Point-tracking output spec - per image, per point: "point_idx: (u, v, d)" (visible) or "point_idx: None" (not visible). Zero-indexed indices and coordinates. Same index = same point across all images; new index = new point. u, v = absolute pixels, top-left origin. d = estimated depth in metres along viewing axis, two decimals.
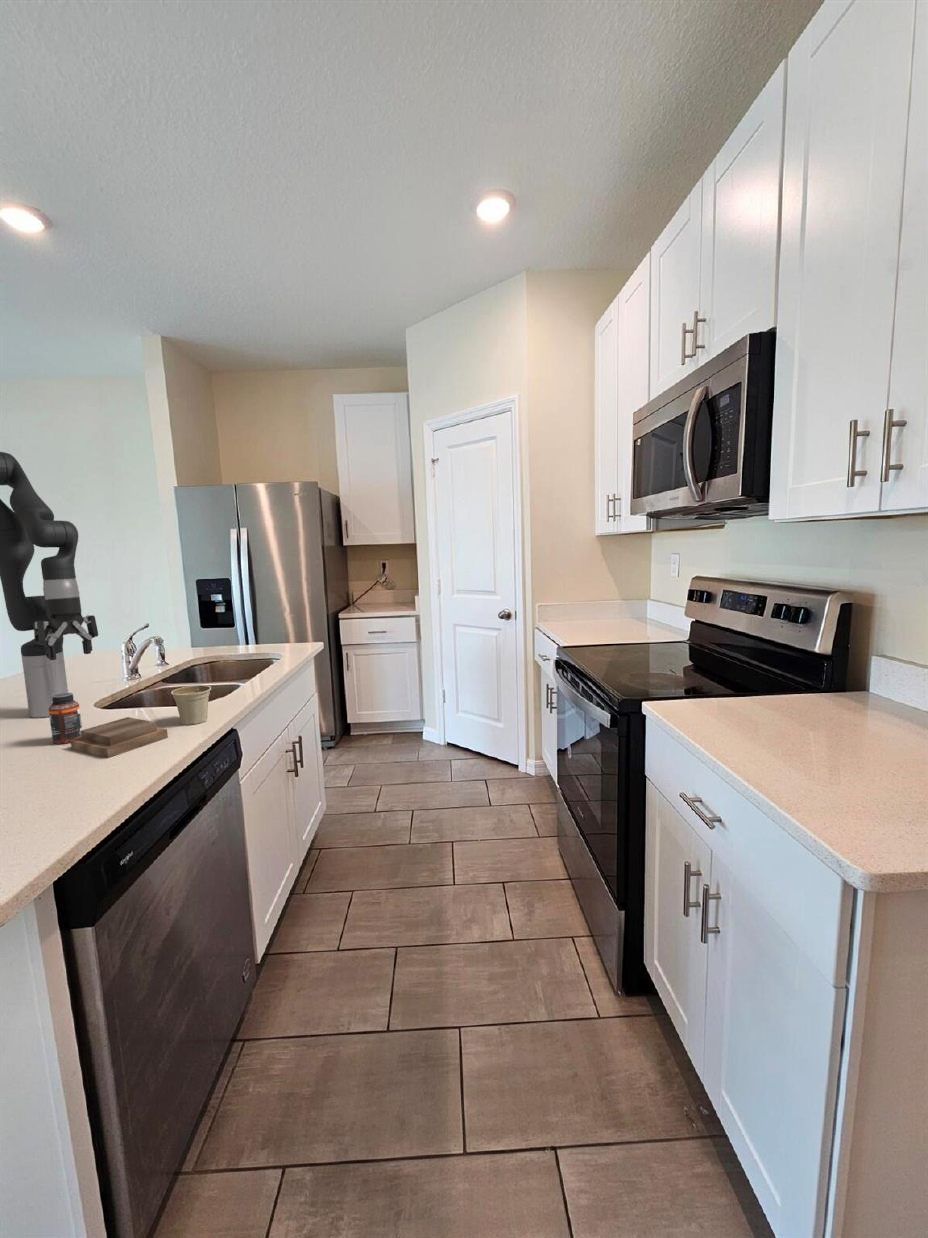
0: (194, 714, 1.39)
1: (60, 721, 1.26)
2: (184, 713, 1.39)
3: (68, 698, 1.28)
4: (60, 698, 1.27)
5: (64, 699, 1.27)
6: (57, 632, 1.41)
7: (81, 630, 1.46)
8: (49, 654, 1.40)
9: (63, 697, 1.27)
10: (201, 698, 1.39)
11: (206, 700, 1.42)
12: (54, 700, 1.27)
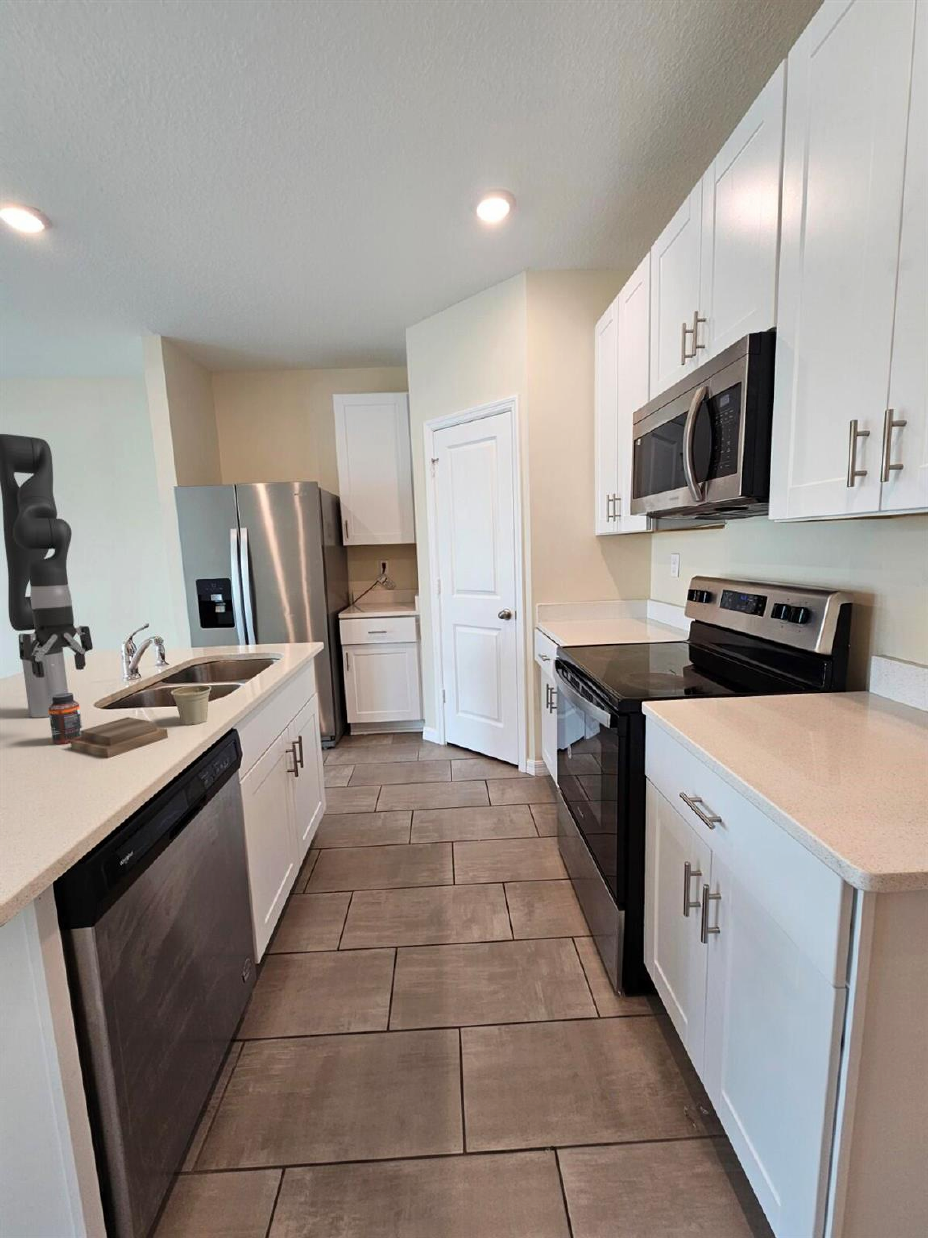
0: (194, 714, 1.39)
1: (60, 721, 1.26)
2: (184, 713, 1.39)
3: (68, 698, 1.28)
4: (60, 698, 1.27)
5: (64, 699, 1.27)
6: (45, 646, 1.23)
7: (73, 643, 1.29)
8: (36, 671, 1.23)
9: (63, 697, 1.27)
10: (201, 698, 1.39)
11: (206, 700, 1.42)
12: (54, 700, 1.27)
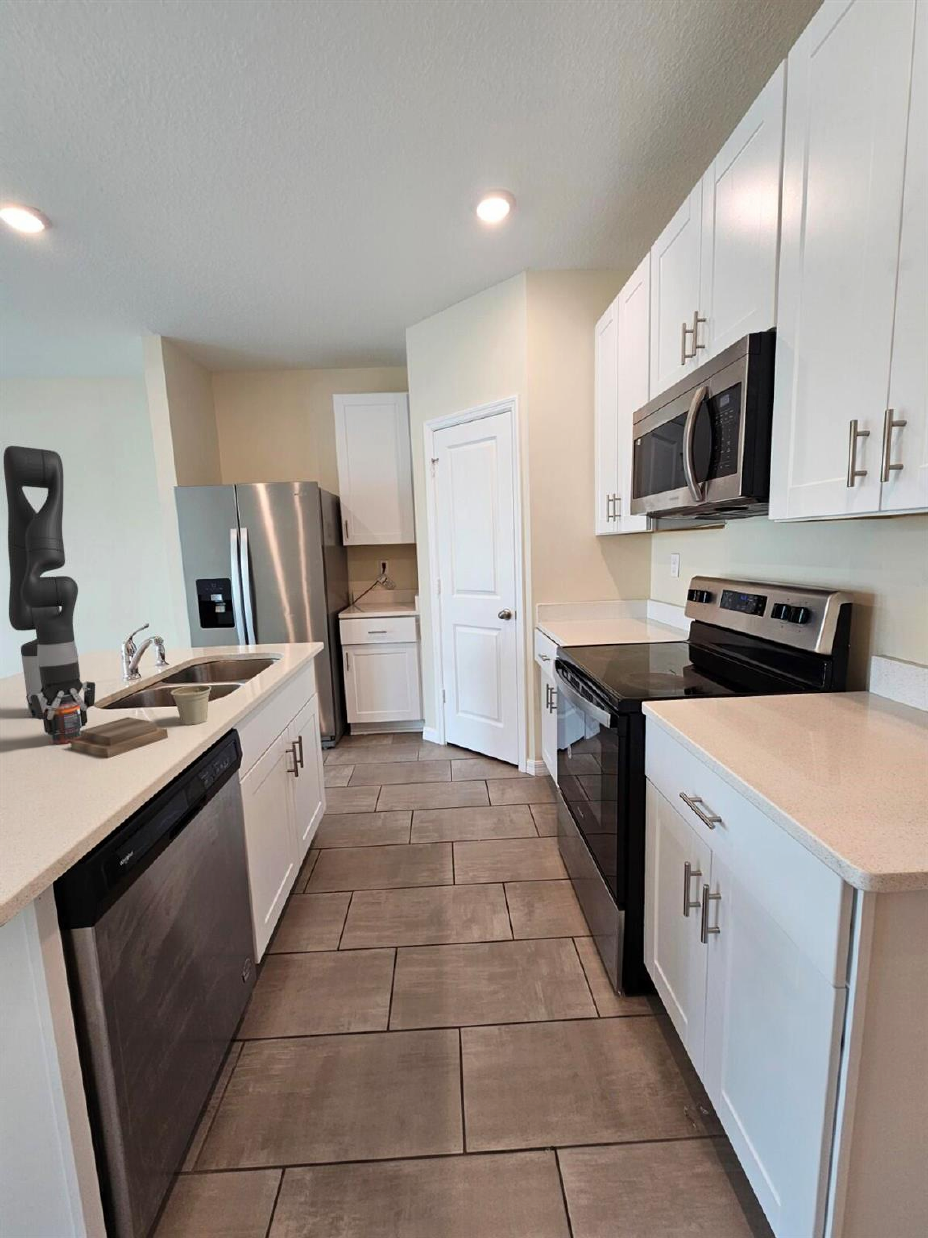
0: (194, 714, 1.39)
1: (60, 721, 1.26)
2: (184, 713, 1.39)
3: (68, 698, 1.28)
4: None
5: (64, 699, 1.27)
6: (54, 704, 1.26)
7: (77, 699, 1.30)
8: (48, 729, 1.25)
9: (63, 697, 1.27)
10: (201, 698, 1.39)
11: (206, 700, 1.42)
12: None
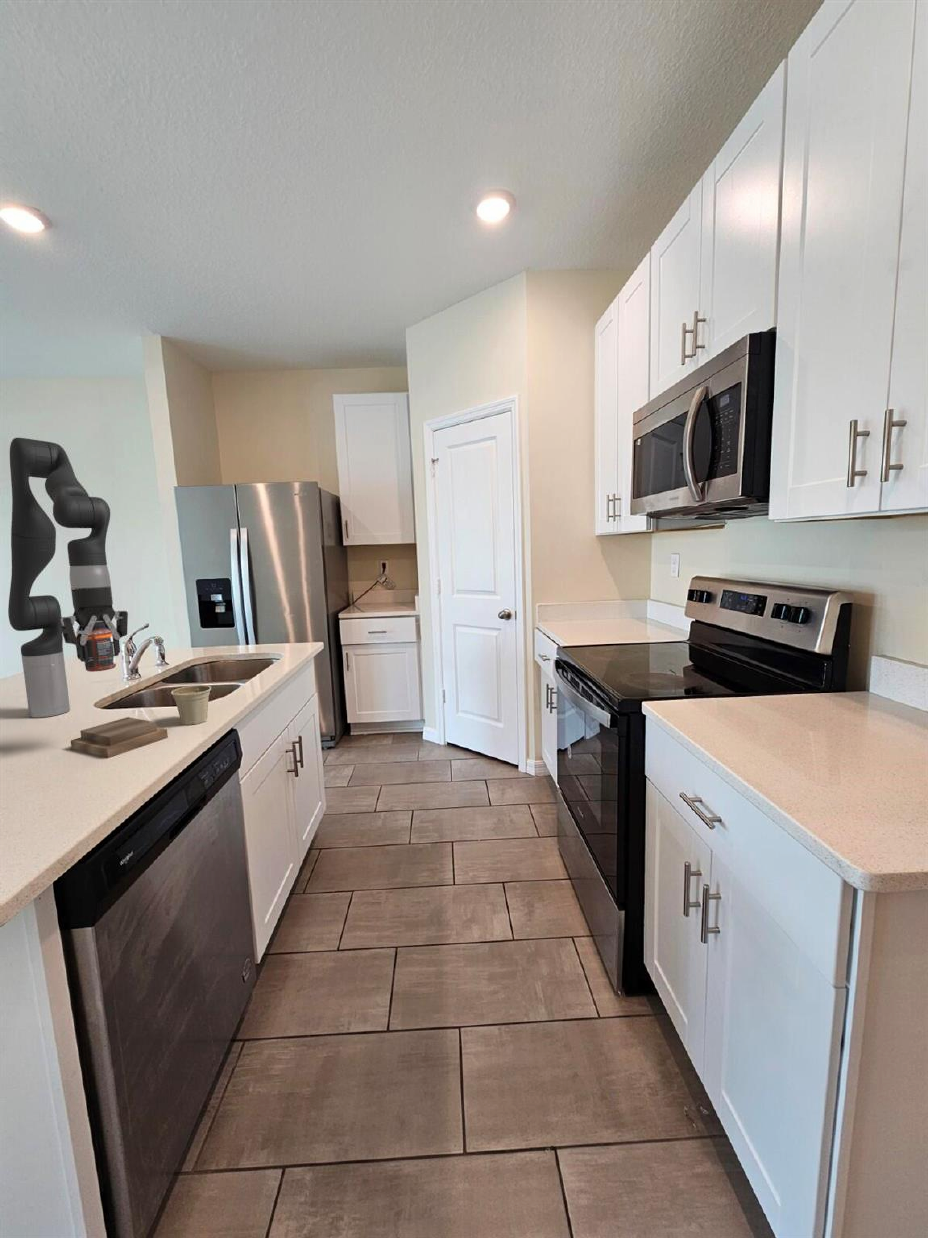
0: (194, 714, 1.39)
1: (93, 647, 1.22)
2: (184, 713, 1.39)
3: (101, 624, 1.23)
4: None
5: (97, 625, 1.22)
6: (87, 628, 1.21)
7: (110, 626, 1.25)
8: (81, 655, 1.21)
9: (96, 622, 1.22)
10: (201, 698, 1.39)
11: (206, 700, 1.42)
12: None
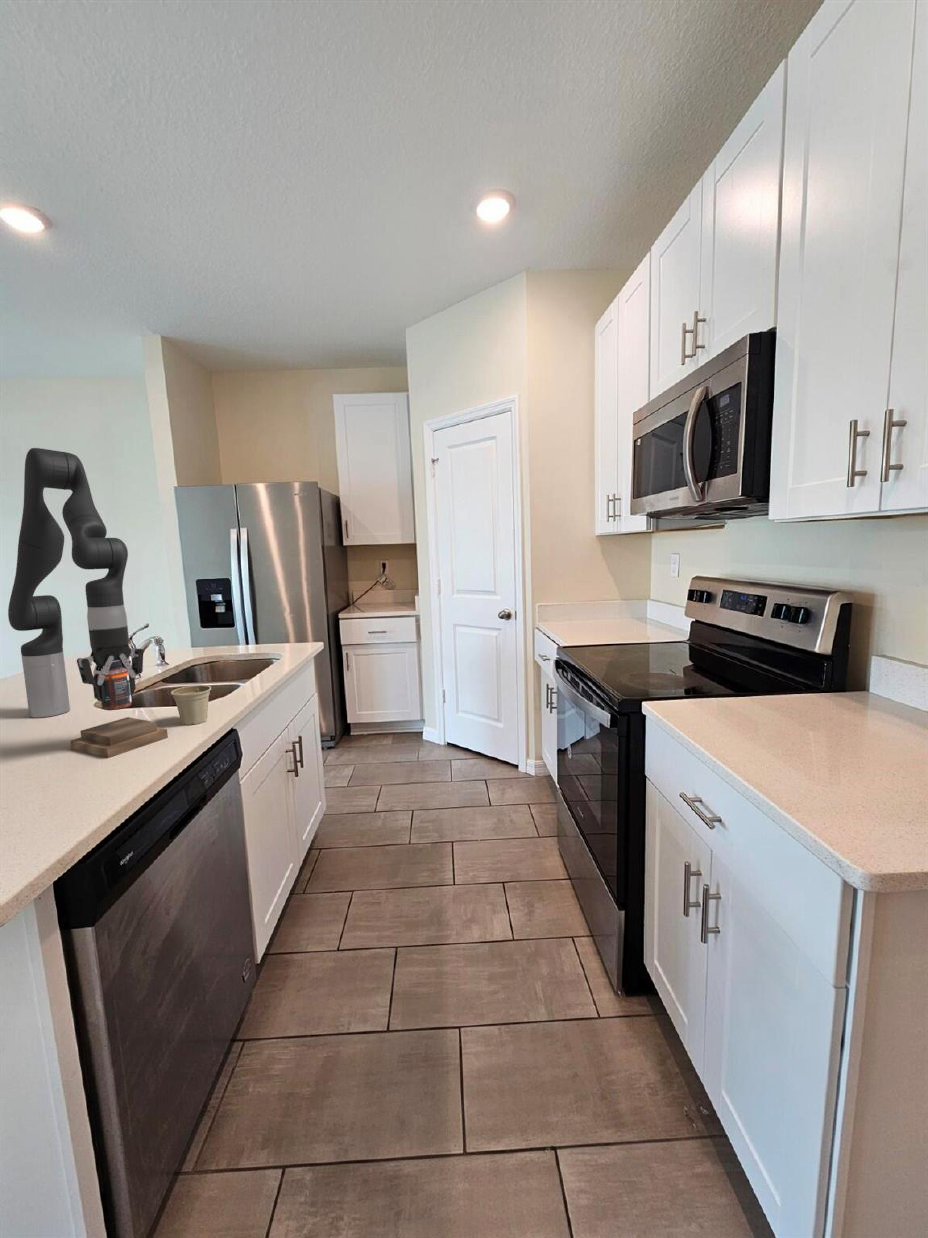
0: (194, 714, 1.39)
1: (110, 686, 1.23)
2: (184, 713, 1.39)
3: (118, 663, 1.24)
4: None
5: (114, 664, 1.24)
6: (104, 669, 1.22)
7: (126, 665, 1.26)
8: (98, 695, 1.22)
9: (113, 662, 1.23)
10: (201, 698, 1.39)
11: (206, 700, 1.42)
12: None
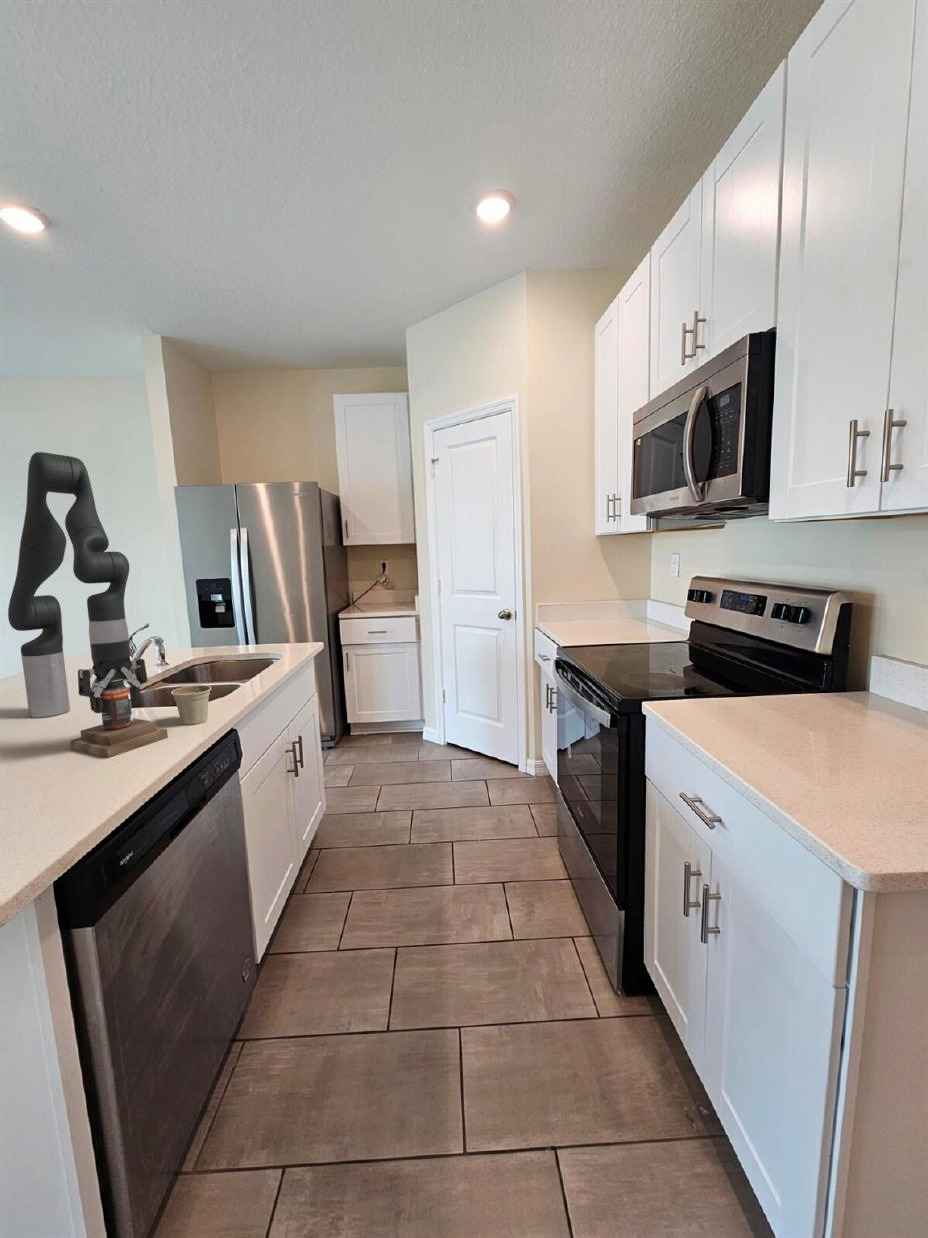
0: (194, 714, 1.39)
1: (111, 706, 1.23)
2: (184, 713, 1.39)
3: (119, 682, 1.25)
4: (112, 682, 1.24)
5: (116, 683, 1.24)
6: (104, 681, 1.22)
7: (130, 677, 1.27)
8: (94, 707, 1.21)
9: (115, 681, 1.24)
10: (201, 698, 1.39)
11: (206, 700, 1.42)
12: None
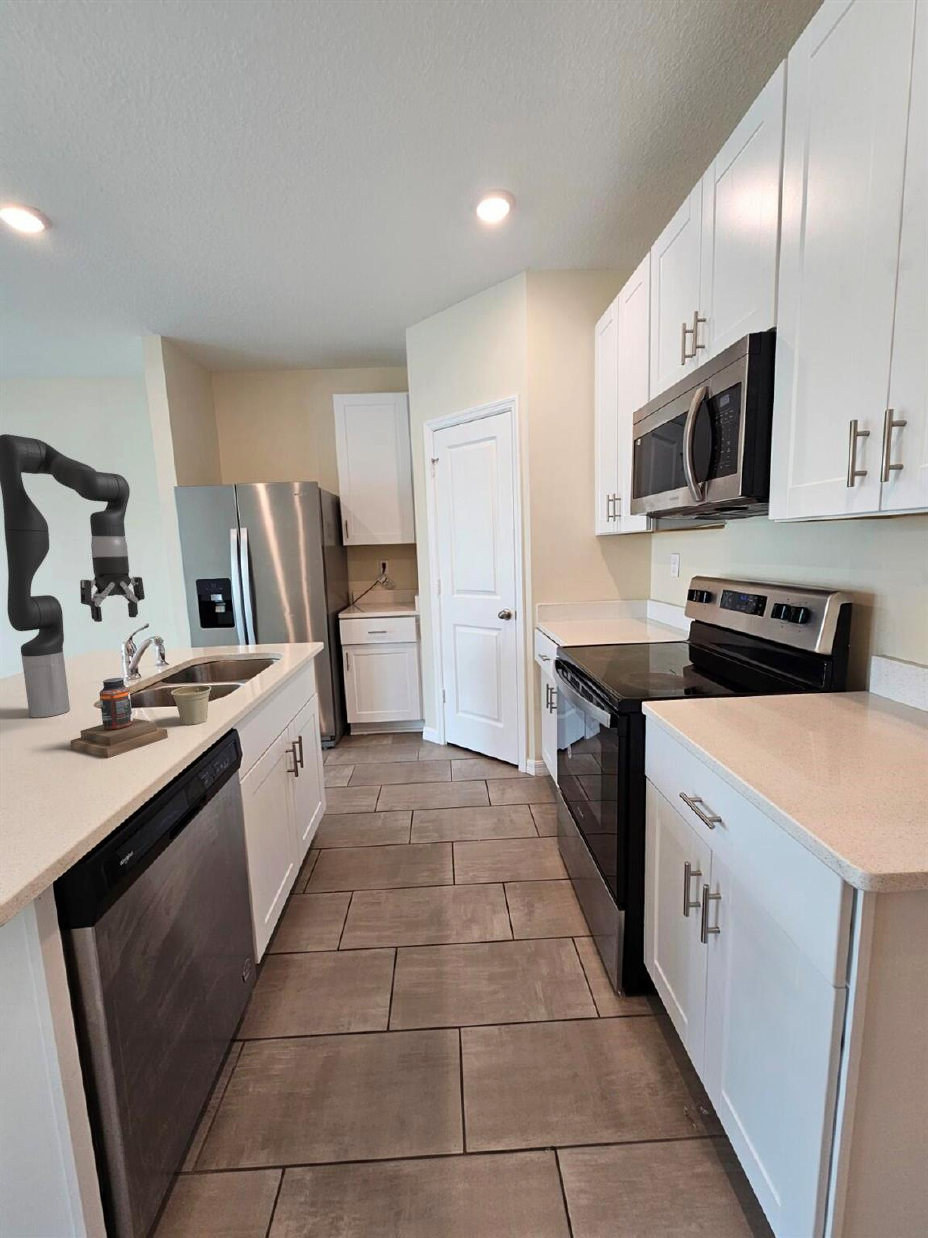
0: (194, 714, 1.39)
1: (111, 706, 1.23)
2: (184, 713, 1.39)
3: (119, 682, 1.25)
4: (112, 683, 1.24)
5: (116, 684, 1.24)
6: (104, 592, 1.32)
7: (128, 592, 1.37)
8: (95, 615, 1.32)
9: (115, 682, 1.24)
10: (201, 698, 1.39)
11: (206, 700, 1.42)
12: (105, 685, 1.24)
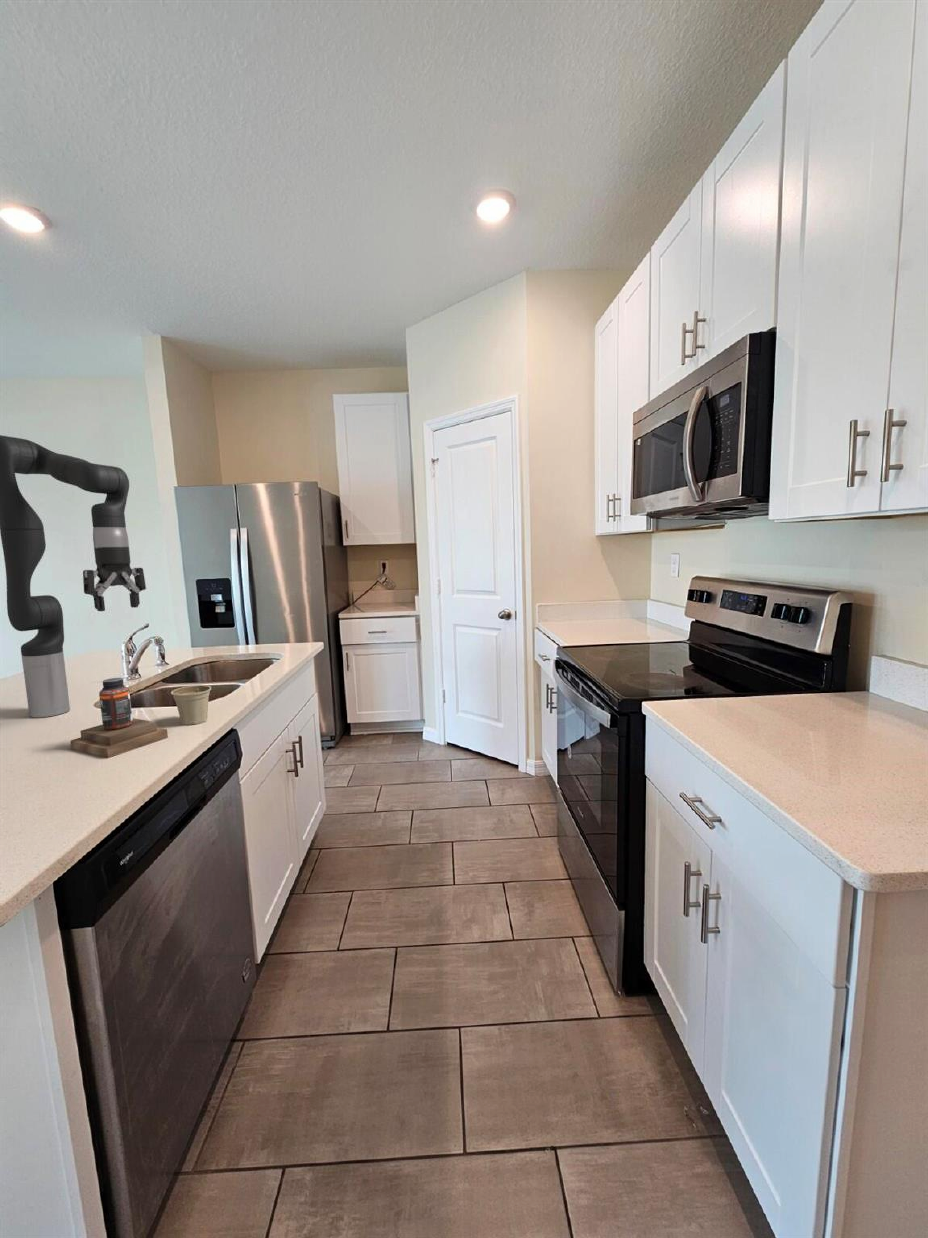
0: (194, 714, 1.39)
1: (111, 706, 1.23)
2: (184, 713, 1.39)
3: (119, 682, 1.25)
4: (111, 682, 1.24)
5: (115, 684, 1.24)
6: (106, 582, 1.35)
7: (130, 582, 1.40)
8: (98, 605, 1.34)
9: (114, 681, 1.24)
10: (201, 698, 1.39)
11: (206, 700, 1.42)
12: (105, 685, 1.24)
